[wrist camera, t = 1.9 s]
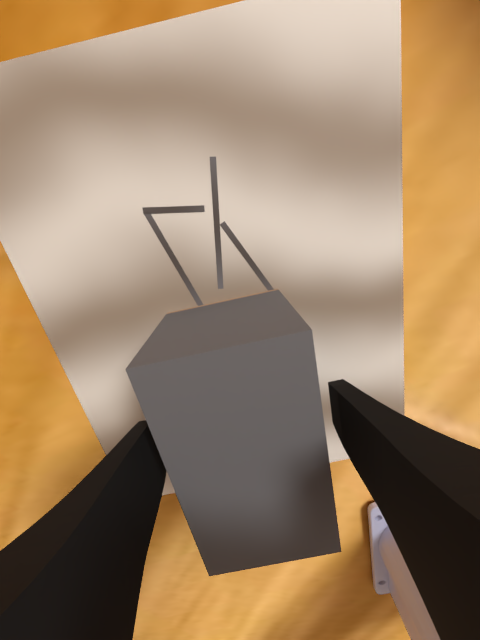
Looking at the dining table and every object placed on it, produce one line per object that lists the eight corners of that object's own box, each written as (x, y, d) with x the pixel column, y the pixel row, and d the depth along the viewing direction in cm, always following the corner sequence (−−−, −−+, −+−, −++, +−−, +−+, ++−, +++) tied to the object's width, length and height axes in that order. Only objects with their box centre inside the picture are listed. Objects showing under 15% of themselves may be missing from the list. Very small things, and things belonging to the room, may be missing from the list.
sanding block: (304, 446, 14) (341, 551, 10) (215, 464, 15) (209, 576, 10) (277, 288, 12) (312, 329, 7) (167, 312, 12) (125, 369, 7)
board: (393, 434, 16) (404, 447, 15) (135, 485, 16) (129, 501, 15) (382, -12, 9) (400, -39, 8) (-48, 96, 10) (-79, 81, 9)
